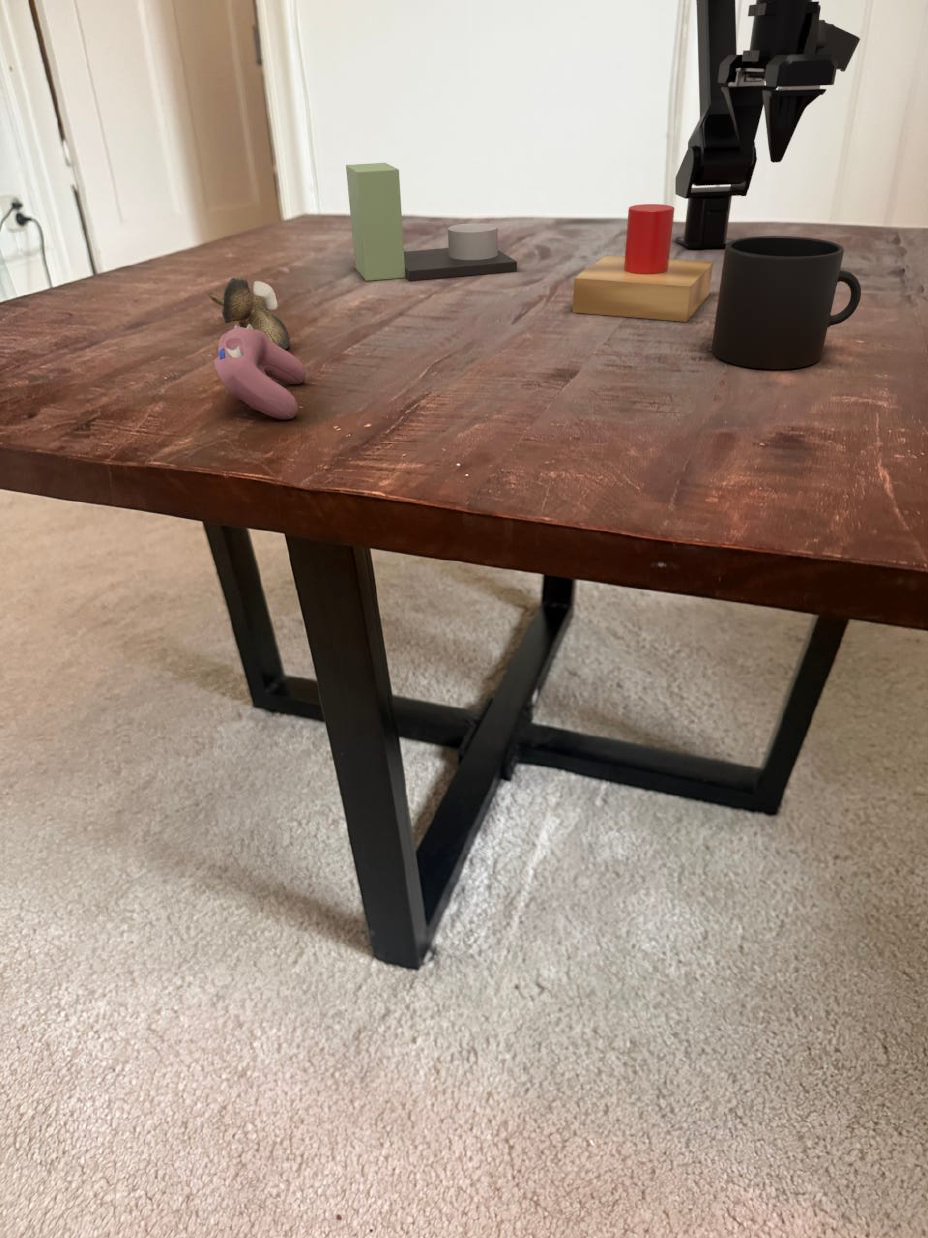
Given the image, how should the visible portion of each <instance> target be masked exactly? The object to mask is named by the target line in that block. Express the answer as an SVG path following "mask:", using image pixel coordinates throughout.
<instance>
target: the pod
mask: <svg viewBox="0 0 928 1238" xmlns="http://www.w3.org/2000/svg"><path fill="white" fill-rule="evenodd" d="M627 211H628V212H627V224H626V225H627V226H626V238H625V248H624V249H625V251H624V256H625V262H624V270H625V271H627V272H630V273H636V274H658V273H663V272H666V271H667V270H668V265H669V259H670V256H671V255H670V254H671V244H672V237H673V227H674V226H673V225H674V215H675V207H674V206H673V205H669V204H660V203H643V204H635V205H631V206H629V207H628V210H627Z"/></svg>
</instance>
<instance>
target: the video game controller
mask: <svg viewBox="0 0 928 1238" xmlns="http://www.w3.org/2000/svg"><path fill="white" fill-rule="evenodd" d="M217 351H218V353H217V355H218V356H217V357H216V358H215V359H214V368H215V371H216V374H217V375H218V378H219V380H220V381H221V383H222V384H223V386H224V387H225V388H226V390H227V391H228V393H230V394H231V395H232V396H233V397H234V398H235V399H237V400H239V401H242V402H244V403H245V404H247V406H249V408H250V409H252V410H253V411H258V412H260V413H262V414H264V415H266V416H269V417H272V418H275V419H278V420H291V419H294V418H295V416H296V415H297V414H298V411H299V405H298V402H297V401H298V400H297V399H296V397H294V396H293V395H292V393H291V391H289V390H288V389H287V388H285V387H284V386H282V385H281V384H279V383H278V382H280V383H285V384H290V385H299V384H301V383H302V382H304V380H305V378H306V375H307V373H306V368H305V367H304V364H302V362H301V361H300V360H299V358H297V357H296V356H295V355H293V354H292V353H290V352H289V351H287V350H286V349H285V348H284V349H282V348H280V347H279V346H277V345H276V344H275V343H273V342H272V341H271V340H269V339H268V338H267V337H266V336H265V335H264V334H263V333H262V332H260V331H259V330H254V329H253V327H252V326H251V325H250V324H249V325H248V326H247V328H244V327H237V328H234V327H233V328H232V329H230V330H229V331H226V332H224V333H223V334H222V335H221V336H220V338H219V340H218V344H217ZM272 379H273V380H272ZM274 380H275V381H274ZM276 381H278V382H276Z"/></svg>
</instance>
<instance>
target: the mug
mask: <svg viewBox="0 0 928 1238" xmlns="http://www.w3.org/2000/svg"><path fill="white" fill-rule="evenodd" d="M730 241H731V242H729V243H727V245H726V247H724V253H723V262H722V270H721V277H720V284H719V290H718V298H717V306H716V312H715V319H714V326H713V333H712V341H711V349H712V350H711V351H712V354H713V355H714V356H715V357H717V358H718V359H720V360H722V361H725V362H727V363H730V364H733V365H737V366H739V367H740V366H741V367H745V368H751V369H759V370H760V369H761V370H790V369H798V368H804V367H809V366H810V365H813V364H815V363H817V362H818V361H819V360H820V358H821V357H822V355H823V351H824V347H825V342H826V337H827V333H828V328H830V327H831V326H836V325H839V324H842V323H843V322H845V321H847V320H849V318H850V317H852V315H853V314H854V312H855V311H856V310H857V309H858V307H859V303H860V301H861V298H862V287H861V285H860V282H859V280H858V278H857V277H856V276H855V275H854V274H853V273H852V272H850V271H848V270H844V269H843V270H842V269H841V268H842V267H841V266H842V263H843V258H844V254H845V248H844V247H843V246H842V245H840V244H838V243H837V242H833V241H829V240H825V239H820V238H813V237H805V236H792V235H790V236H789V235H761V236H760V235H759V236H748V237H742V238H738V239H734V240H730ZM840 282H842V283H844V284H846V285H847V287H848V288H849V291H850V298H849V301H848V303H847V305H846V306H845V307H844V309H842V310H841V311H840V312H838V313H835V314H833V315H832V310H833V305H834V300H835V296H836V291H837V286H838V283H840Z"/></svg>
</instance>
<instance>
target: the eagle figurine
mask: <svg viewBox="0 0 928 1238" xmlns="http://www.w3.org/2000/svg"><path fill="white" fill-rule="evenodd" d="M205 293H206V294H207V296H208V297H209V298H210V299H211V300H212V301H213V302H214V303H216V304H218V305H219V306H222V307H221V314H222V318H223V321H224V323H225V324H229V323H233V322H235V323H234V327H233V329H234V328H237V327H244V328H247V326H248V325H249V324H250V325H251V326H252V327H253V329H254V330H259V331H260V332H262V333H263V334H264V335H265V336H266V337H267V338H268V339H269V340H271V341H272V342H273V343H275V344H276V345H277V346H279V347H280V348H282V349H284V350H286V349H288V348H289V346H290V343H291V338H290V336H289V331H288V329H287V327H286V325H285V324H284V322H283V321H282V320H281V319H280V318H278V317H277V316H275V315H274V314H273V313H271V312H270V311H276V310H277V309H278V301H277V295H276V293H275V291H274V289H273V287H271V286H270V285H269V284H268V283H266V282H263V281H260V280H255V281H254V282H253V285H252V293H253V295H252V293H251V289H250V286H249V283H248V279H246V278H245V279H242V278H241V279H239V278H235V277H231V278H230V280H228V282H227V284H226V285H225V287H224V288H223V295H222V298H221V297H219V296H218V295H216V294H215V293H213V292H212V290H210V289H207V288H206V289H205Z"/></svg>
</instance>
